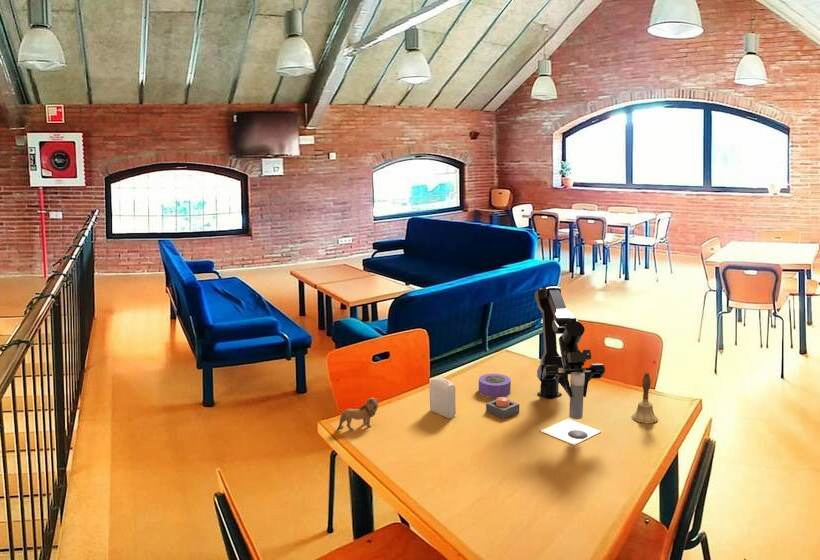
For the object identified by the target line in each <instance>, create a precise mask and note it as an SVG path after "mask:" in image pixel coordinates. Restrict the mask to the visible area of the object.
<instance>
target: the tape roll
mask: <svg viewBox="0 0 820 560" xmlns="http://www.w3.org/2000/svg"><path fill="white" fill-rule="evenodd" d="M511 382H512V380H511V378H510V377H509V376H508V375H505V374H501V373H486V374H481V375H480V376H479V377H478V393H479V394H480V395H481V394H482V395H481V396H483V395H484V397H487V396H488V397H487V398H495V399H496V398H497V397H508V396H509V395H510V394H511V386H512V385H511V384H512V383H511ZM507 395H508V396H507Z"/></svg>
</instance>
